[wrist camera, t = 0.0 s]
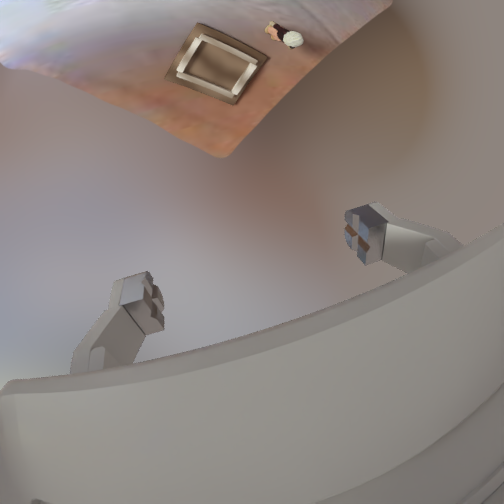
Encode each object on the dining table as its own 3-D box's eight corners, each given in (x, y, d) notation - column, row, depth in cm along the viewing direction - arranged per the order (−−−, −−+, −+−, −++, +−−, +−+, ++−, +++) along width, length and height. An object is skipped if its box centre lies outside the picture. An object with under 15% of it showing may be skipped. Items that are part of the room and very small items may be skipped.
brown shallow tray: (197, 22, 36) (198, 23, 35) (266, 56, 47) (269, 58, 45) (164, 78, 45) (164, 81, 43) (232, 104, 55) (234, 108, 53)
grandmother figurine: (290, 35, 43) (318, 46, 36) (278, 46, 45) (304, 59, 38) (265, 14, 38) (290, 20, 31) (253, 26, 40) (275, 34, 33)
